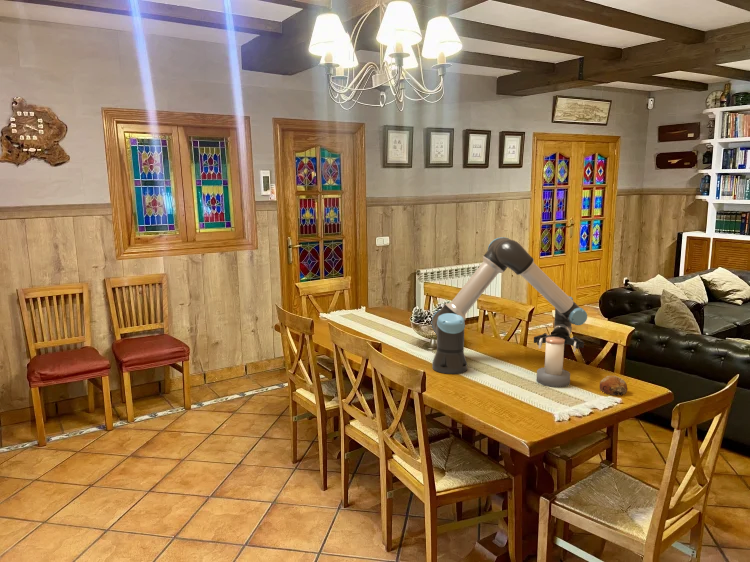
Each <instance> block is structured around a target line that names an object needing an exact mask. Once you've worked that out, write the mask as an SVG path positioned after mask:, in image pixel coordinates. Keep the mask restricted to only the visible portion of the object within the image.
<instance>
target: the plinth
mask: <svg viewBox="0 0 750 562" xmlns="http://www.w3.org/2000/svg"><path fill="white" fill-rule="evenodd" d="M544 370H545V367H540V368H538V369H537V370H536V382H537V383H538V384H540V385H543V386H546V387H550V388H565V387H568V386H569V384H570V383H571V372H570V371H567V370H565V369H563V372H562V374H561V375H550V374H547V373H545V372H544Z"/></svg>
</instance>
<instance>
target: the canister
mask: <svg viewBox="0 0 750 562" xmlns="http://www.w3.org/2000/svg"><path fill="white" fill-rule="evenodd" d="M564 342H565V339H563V338H560V337H547V338H546V343H545V352H544V353H545V355H544V356H545V357H544V368H545V370H544V372H545V373H547V374H550V375H561V374H562V372H563V370H564V353H565V352H564V351H565V344H564Z"/></svg>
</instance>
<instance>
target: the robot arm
mask: <svg viewBox="0 0 750 562" xmlns="http://www.w3.org/2000/svg"><path fill="white" fill-rule="evenodd" d="M487 247H488V248H487V250H486V252H485V253H484V255H483V256H482V263H480V265H479V267H478V268H476V270H475V271H474V273H473V274H472V275H471V276H470V278H469V279H468V280H467V281H466V283H464V285H463V286H462V288H461V289H460V290H459V292H458V293H457V294H456V295H455V297H454V298H453V299H452V300H451V302H449V303H444V305H443V306H442V308H441V309H439V310H437V311H436V312H434V314H433V315H432V321H431V324H432V328H433V330H434V332H435V333H436V335H437V337H436V352H435V354H434V358H433V360H432V363H431V364H432V365H431V367H432V370H434V371H435V372H437V373H441V374H452V375H454V374H463V373H465V372H467V371H468V361H467V359H466V356H465V349H464V348H465V347H464V346H465V329H466V328H465V327H466V324H465V323H466V322H465V321H466V320H467V319H466V318H467V317H466V315H467V313H468V312H469V311H470V310H471V308H472V307H473V305H475V303H476V302H477V301H478V300H479V298H480V297H481V295H483V294H484V292H485V291H486V290H487V288H488V287H489V285H490V284H491V283H492V282H493V281H494V280H495V278H497V276H498V275H499V274H501V273H504V272H505V271H506V270H507V269H510V270H511V271H513V272H514V273H515V274H516V275H517V276H521V277H522V278H523V279H524V280H526V282H527V283H529V285H531V286H532V288H534V289H535V291H537V292H538V293H539V294H540V295H541V296H542V297H543V298H544V299H545V300H546V301H547V302H548V303H549V304H551V306H552V307H554V321H553V323H554V324H553V329H552V332H551V334H549V335H548V334H547V333H546V332H544V333H542V334H540V335H536V336H534V337H533V344H536V345H537V346H538V349H541V348H542V346H543V344H546V338H547V337H560V338H563V339H565V342H564V345H569V346H572V348H573V351H572V352H573V353H575V352H576V349H577V350H578V349H583V348H584V344H585V342H584V341H583V340H581V339H580V338H578V337H577V336H576V335H573V336H572V337H571V332H572V330H573V329H572V328H573V327H572V325H575V326H581V325H584V324H585V323H586V322H587V319H588V313H587V312H586V310H584V308H582V307H580V306H579V305H578V304H577V303H576V302H574V298H573V297H572V296H570V295H568V294H567V293H566V292H564V291H563V289H561V288H560V286H558V285H557V284H556V283H555V282H554V281H553V280H552V279H551V278H550V277H549V276H548V275H547V274H546V272H544V271H543V270H542V269H541V268H540V267H539V266H538V265H537V264H536V263H535V259H534V258H533V257H532V256H531V255H530V253H528V251H527V250H526V249H525V248H524V247H523V246H522V245H521V243H519V242H518V241H516V240H514V239H511V238H508V237H504V236H503V237H497V238H494V239H493V240H491V242H490V243H489V244H488V246H487ZM466 370H467V371H466Z"/></svg>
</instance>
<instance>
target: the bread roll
mask: <svg viewBox="0 0 750 562" xmlns="http://www.w3.org/2000/svg"><path fill="white" fill-rule="evenodd" d="M599 391H600V392H601V391H602V392H601V393H603V392H604V393H603V394H605V393H606V394H605V395H608V394H610V395H609V396H614V395H621V396H623V395H622V394H624V395H625V394H626V393H627V392H628V385H627V382H626V381H625V380H624V379H623V378H621V377H619V376H617V375H606V376H605V377H603V378H602V379H601V380H600V381H599Z"/></svg>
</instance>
